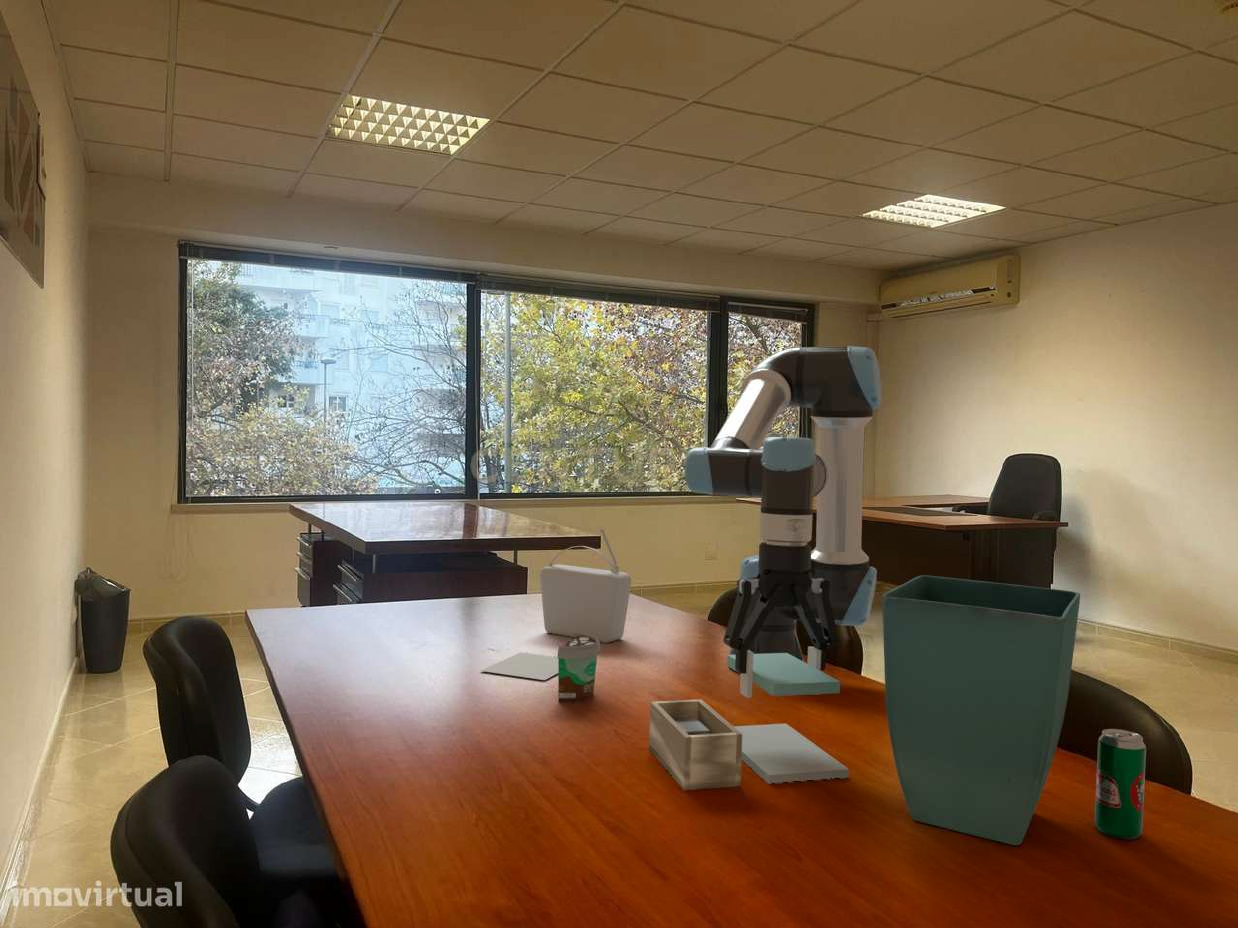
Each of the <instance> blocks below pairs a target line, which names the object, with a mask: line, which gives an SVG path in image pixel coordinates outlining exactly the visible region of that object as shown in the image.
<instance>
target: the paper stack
mask: <svg viewBox="0 0 1238 928" xmlns="http://www.w3.org/2000/svg"><path fill="white" fill-rule="evenodd" d="M557 657H558V656H552V655H550V656H549V655H544V654H536V653H528V652H521V651H520V652H519V653H516V654H515V655H514V654H513V655H512V656H510V657H507V658H505V659H503V660H502V661H499V662H497V663H493V664H492V665H489V666H488V667H486V668H483V669H481V670H480V672H485V673H493V674H500V675H506V676H513V677H514V676H515V677H521V678H528V679H533V680H541V681H546V680H547V679H550V678H551V677H554V676H555V675H557V674H558V658H557Z"/></svg>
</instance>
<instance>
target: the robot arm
mask: <svg viewBox="0 0 1238 928" xmlns="http://www.w3.org/2000/svg"><path fill="white" fill-rule="evenodd" d="M882 394H883V393H882V380H881V373H880V365H879V361H878V357H877V355H876V352H874V350H873V349H871V348H870V347H866V346H865V347H864V346H853V345H852V346H851V345H847V346H818V347H817V346H809V347H808V346H807V347H803V346H800V347H798V346H797V347H796V346H795V347H791V348H790V347H789V348H786V349H783V350H780V351H777V352H776V353H773V354H771V355H769V356H767V357H766V358H764V359H762V361H760V362H759V363H757V364H756V365H755V366H754V367H753V368H751V370H750V371H749V372H748V373H747V375H746V376H745V378H744V380H743V381H742V383H741V388H740V397H739V398H738V400H737V401H736V403H735V405H734V407H733V408H732V410H731V412H730V413H729V415H728V417H727V418H726V419H725V422H724V423H723V426H722V427H721V429H720V430H719V432H718V433H717V435H716V437H715V439H714V440H713V442H712V444H711V445H710V447H707V446H702V447H701V446H700V447H694V448H691V449H690V450H689V451H688V453H687V455H686V458H685V464H684V477H685V483H686V486H687V488H688V489H689V490H690V492H692V493H696V494H697V493H698V494H705V495H710V496H714V495H721V496H722V495H723V496H742V497H743V496H745V497H747V496H748V497H760V512H759V513H760V515H759V535H758V536H759V538H760V539H761V540H762V542H760V544H759V545H758V555H754V556H753V555H751V556H748V557H745V559H743V561H742V562H741V565H740V572H739V578H738V580H737V581H736V585H737V586H736V591H737V594H736V598H735V601H734V604H733V607H732V610H731V614H730V617H729V619H728V624H727V626H726V628H725V629H726V630H725V633H724V636H723V643H724V644H725V645H726V646H728V647H729V648H730V651H729V653H728V655H736V658H735V669H736V671H735V670H734V669H732V668H731V667H729V666H728V668H729V669H731V671H734V672H736V673H738V674H740V678H739V680H740V681H739V682H740V683H739V693H740V694H741V695H743V696H744V697H745V698H747V699H750V698H751V699H752V698H753V682H752V677H753V654H767V653H788V654H790V655H792V656H794V657H796V658H797V659H799V660H801V661H803V662H805V661H804V660H805V659H804V656H803V652H802V649H801V645H800V641H799V639H798V635H797V621H801V623H802V624H803V627H804V628H805V630H806V633H807V634H808V637H809V638H810V640H811V642H812V645H814V646H807V662H806V663H807V664H808V665H810V666H812V667H814V668H816V669H818V670H820V671H821V672H823V671H825V669H826V666H827V665H826V661H827V651H829V650H830V649H831V646H833V645H834V646H837V645H838V644H839V642H840V638H839V634H838V630H837V626H836V625H839V626H841V627H844V626H853V627H861V626H863V625H865V624H866V622H867V621H868V620H869V617H870V614H871V611H872V610H871V609H872V605H873V601H874V596H875V593H876V591H875V590H876V584H877V574H878V570H877V568H876V567H874V566H869V565H870V558H869V556H868V554H866V553H865V552H864V550H863V549H862V533H863V531H862V530H863V529H862V528H863V527H862V526H863V524H862V523H863V488H864V487H863V486H864V485H863V484H864V483H863V482H864V447H865V445H864V442H865V441H864V440H865V426H866V425H867V424H868V423H869V422H871V420H872V419H873V417H874V416H873V415H874V410H878V409H880V407H881V406H882V399H883V398H882ZM787 408H810V418H811V420H813V422H815V423H816V424H817V427H818V430H817V431H818V435H817V437H818V438H817V441H818V443H817V453H816V451H815V449H816V447H815V446H816V445H815V441H814V440H813V439H812V438H810V437H794V436H793V437H792V436H791V437H789V436H768V433H769V431H770V429H771V427H772V425H773V424H774V421H775V420H776V418H777V416H778V415H779V414H781V413H782V412H783V411H785V410H786V409H787ZM767 436H768V437H767ZM766 437H767V438H766ZM762 445H763V446H762ZM761 447H762V449H761ZM815 496H816V502H817V503H816V532H815V533H816V536H815V537H816V538H815V542H816V544H815V547H814V549H812V547H811V545H809V544H808V543H809V542H811V540H812V534H813V532H812V531H813V503H814V502H813V501H814V498H815ZM818 623H820V626H821V628H820V626H819V624H818ZM813 695H815V696H817V695H818V696H819V695H821V694H813Z"/></svg>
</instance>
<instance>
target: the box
mask: <svg viewBox="0 0 1238 928" xmlns="http://www.w3.org/2000/svg"><path fill="white" fill-rule="evenodd" d="M649 705H650V706H649V735H648V737H649V738H648V749H649V750H650V752H651V753H652V754H653V755H654V756H655V758H656V759H657V761H659V763H660V764H661V765H662V766H663V767H664V768H665V769H667V770H668V771H669V772H668V771H667V772H668V774H670V776H671V775H672V776H671V777H672V778H673V779H674V780H675V782H676V783H677V784H678V785H679V786H680V788H681V789H682V790H683V791H692V790H694V791H695V790H706V789H707V790H709V789H718V788H734V787H735V788H736V787H741V786H742V762H743V760H742V733H740V732H739V731H738V730H737V729H736V728H734V725H732V724H731V723H730V722H729V721H727V720H726V719H725V718H724V717H723V716H722V715H720V714H719V713H718V712H717V711H715V709H713V708H712V707H711V706H710V705H709V704H707V702H705V701H704V700H702V699H701V698H700V699H686V700H685V699H682V700H679V699H678V700H664V701H663V700H659V701H650V703H649Z"/></svg>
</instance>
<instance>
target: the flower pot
mask: <svg viewBox="0 0 1238 928" xmlns="http://www.w3.org/2000/svg"><path fill="white" fill-rule="evenodd" d="M1080 603H1081V593H1080V592H1078V591H1071V590H1065V589H1056V588H1048V587H1038V586H1028V585H1022V584H1021V585H1020V584H1010V583H1002V582H993V581H983V580H972V579H964V578H953V577H948V576H946V577H945V576H935V575H918V576H916V577H914V578H912V579H909V580H908V581H906V582H904V583H903V584H900V585H899V586H896V587H895V588H893V589H891V590H888V591H887V592H885V593H883V594H882V595H881V610H882V630H883V634H882V635H883V636H882V637H883V659H884V660H883V661H884V662H883V663H884V664H883V665H884V666H883V667H884V689H885V691H884V692H885V694H884V695H885V708H886V709H885V710H886V717H887V725H888V732H889V733H888V734H889V738H890V744H891V748H892V755H893V760H894V764H895V765H894V766H895V768H896V773H897V776H898V779H899V780H898V781H899V784H900V788H901V791H902V794H903V797H904V799H905V803H906V805H907V808H908V809H907V810H908V812H909V814H910V817H911V818H912V820H913V821H916V822H920V823H924V824H926V825H932V826H936V827H939V828H943V829H946V830H951V831H955V832H959V833H963V834H967V835H971V836H975V837H978V838H979V837H980V838H982V839H987V840H992V841H995V842H999V843H1004V844H1007V845H1010V846H1019V845H1021V844H1022V843H1023V840H1024V838H1025V836H1026V833H1027V830H1028V828H1029V826H1030V822H1031V821H1032V818H1033V815H1034V814H1035V811H1036V808H1037V805H1038V803H1039V800H1040V798H1041V795H1042V792H1043V790H1044V788H1045V785H1046V781H1047V779H1048V776H1049V773H1050V770H1051V766H1052V765H1053V760H1054V758H1055V754H1056V750H1057V748H1058V744H1059V741H1060V740H1059V739H1060V736H1061V731H1062V727H1063V725H1064V719H1065V715H1066V710H1067V709H1066V708H1067V704H1068V703H1067V702H1068V698H1069V692H1070V691H1069V690H1070V683H1071V675H1072V667H1073V660H1074V658H1073V657H1074V650H1075V643H1076V642H1075V641H1076V634H1077V626H1078V619H1079V618H1078V617H1079V611H1080Z"/></svg>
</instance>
